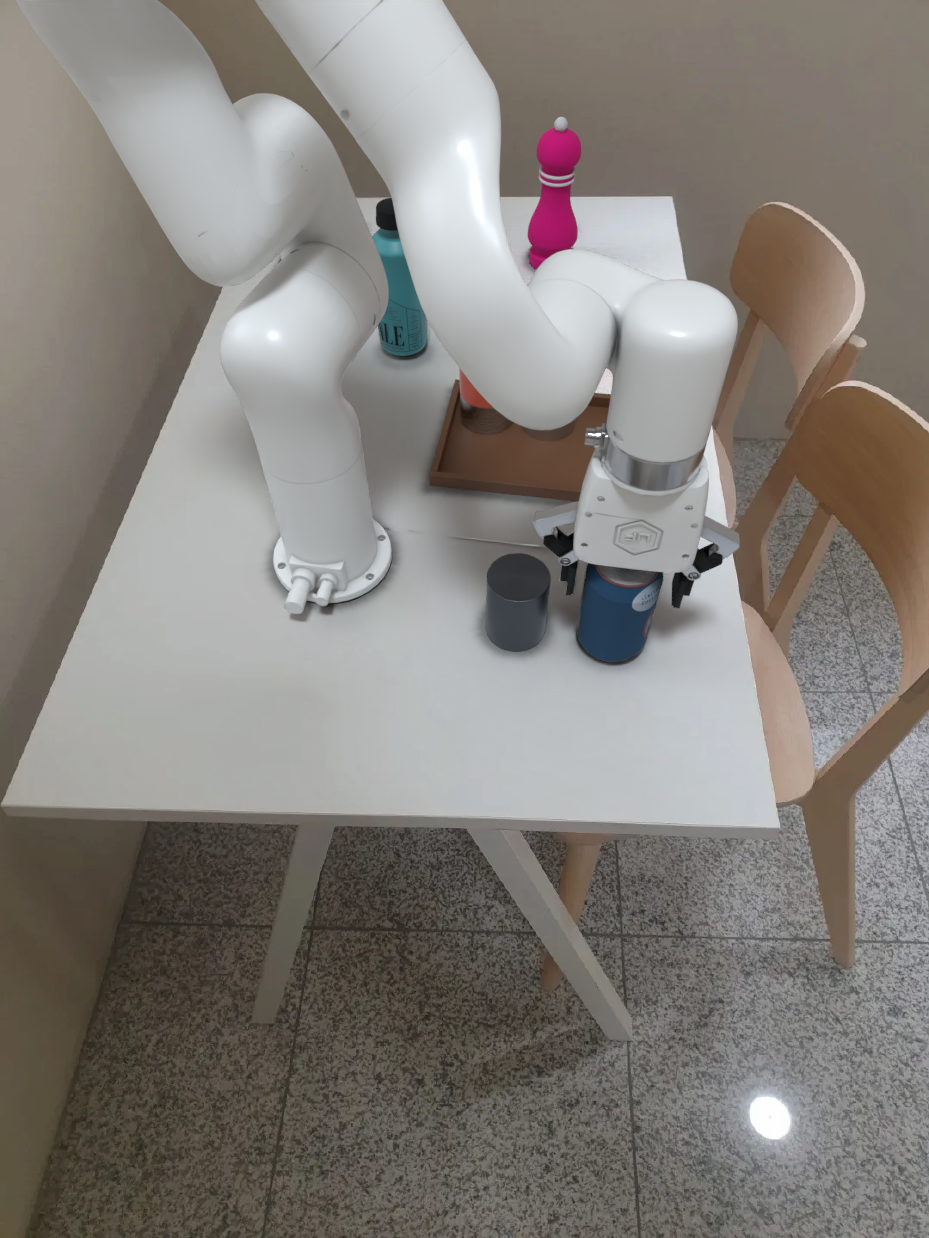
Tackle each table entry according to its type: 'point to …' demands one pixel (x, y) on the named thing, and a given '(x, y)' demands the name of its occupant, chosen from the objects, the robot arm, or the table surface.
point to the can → (479, 410)
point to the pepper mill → (554, 193)
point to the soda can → (616, 611)
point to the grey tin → (517, 601)
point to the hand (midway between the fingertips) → (622, 589)
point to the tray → (515, 456)
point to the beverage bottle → (398, 290)
